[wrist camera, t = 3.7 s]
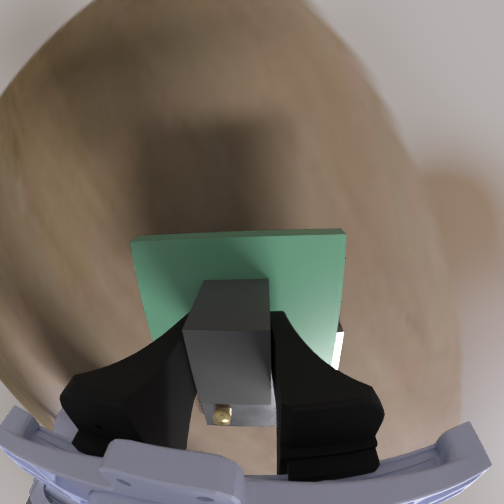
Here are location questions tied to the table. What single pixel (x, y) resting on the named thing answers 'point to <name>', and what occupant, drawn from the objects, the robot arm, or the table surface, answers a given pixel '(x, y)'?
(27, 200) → the table surface
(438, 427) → the table surface
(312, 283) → the board
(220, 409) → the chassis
